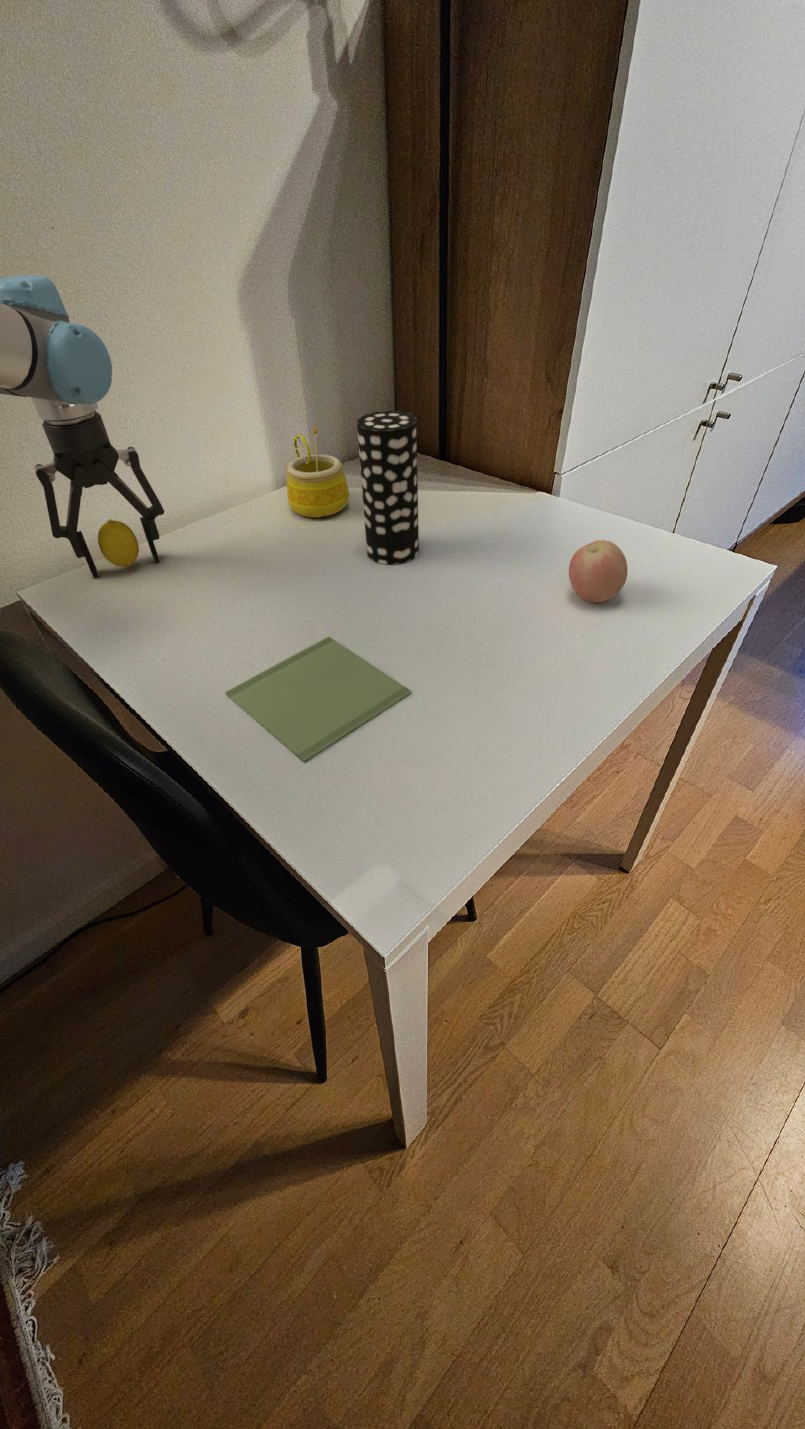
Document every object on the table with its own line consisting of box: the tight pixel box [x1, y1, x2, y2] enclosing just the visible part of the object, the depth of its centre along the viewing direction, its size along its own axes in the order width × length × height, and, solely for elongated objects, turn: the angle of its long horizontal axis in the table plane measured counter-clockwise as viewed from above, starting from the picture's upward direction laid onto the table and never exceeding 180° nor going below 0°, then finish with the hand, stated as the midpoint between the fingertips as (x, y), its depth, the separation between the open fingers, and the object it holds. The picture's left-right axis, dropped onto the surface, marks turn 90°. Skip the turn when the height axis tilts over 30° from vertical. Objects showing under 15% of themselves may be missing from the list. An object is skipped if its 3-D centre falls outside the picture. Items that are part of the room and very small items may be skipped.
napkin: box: [224, 636, 412, 763], centre depth 76 cm, size 16×16×1 cm
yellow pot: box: [285, 427, 350, 518], centre depth 110 cm, size 13×11×12 cm
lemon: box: [97, 519, 140, 569], centre depth 97 cm, size 6×6×8 cm
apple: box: [568, 539, 629, 603], centre depth 87 cm, size 8×8×8 cm
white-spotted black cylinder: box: [356, 410, 420, 565], centre depth 94 cm, size 8×8×20 cm
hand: (126, 565), depth 100 cm, fingers open, 9 cm apart
